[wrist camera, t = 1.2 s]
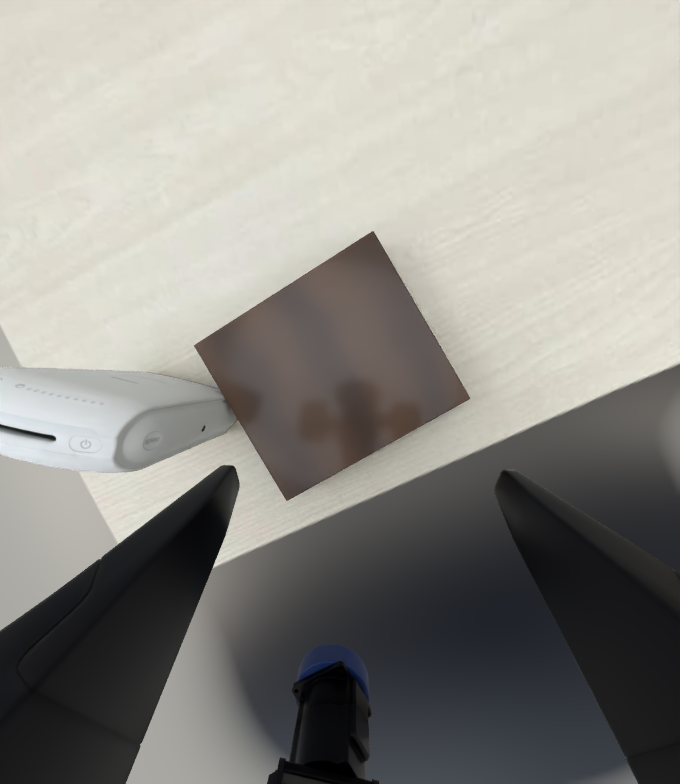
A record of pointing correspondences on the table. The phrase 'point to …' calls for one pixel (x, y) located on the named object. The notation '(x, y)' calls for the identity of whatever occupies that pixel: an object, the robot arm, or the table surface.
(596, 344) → the table surface
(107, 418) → the photo printer
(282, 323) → the walnut stand
